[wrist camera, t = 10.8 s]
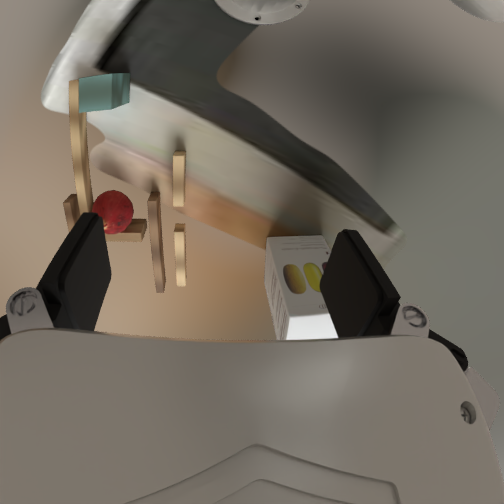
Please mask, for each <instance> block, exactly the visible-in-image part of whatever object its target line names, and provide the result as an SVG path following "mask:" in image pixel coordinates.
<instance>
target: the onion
mask: <svg viewBox="0 0 504 504" xmlns="http://www.w3.org/2000/svg"><path fill="white" fill-rule="evenodd" d="M92 212H94V213H98V215H99V216H101V217H102V218H103V224H104V231H105V234H117V233H120V232H122V231H124V230H125V229H126V227H127V226H128V225H129V224H130V223H131V221H132V217H133V213H134V210H133V205H132V202H131V201H130V200H129V198H128V197H127V196H126V195H124V194H123V193H122V192H119V191H115V190H112V191H107V192H104V193H102V194H101V195H99V196H98V197H97V199H96V201H95V202H94V204H93V208H92Z"/></svg>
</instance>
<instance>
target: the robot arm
mask: <svg viewBox="0 0 504 504" xmlns="http://www.w3.org/2000/svg"><path fill="white" fill-rule="evenodd" d="M214 1H215V2H216V4H217V5H218V6H219V7H220V8H221V9H222V10H223V11H224V12H225V13H227V14H228V15H229V16H231V17H233V18H235V19H237V20H239V21H242V22H246V23H249V24H256V25H272V24H278V23H281V22H285V21H287V20H289V19H291V18H293V17H295V16H296V15H298V14H299V13H301V12H302V11H303V10H304V9H305V7H306V6H307V5H308V3H309V2H310V0H214ZM450 1H451V2H452V3H454V4H455V5H457V6H458V7H459V8H461V9H462V10H464V11H466V12H467V13H469V14H471V15H473V16H475V17H478V18H480V19H484V20H488V21H493V22H504V0H450ZM296 6H298V7H299V8H296ZM255 18H258V19H259V20H258V21H257V20H255ZM110 280H111V267H110V262H109V256H108V251H107V245H106V238H105V231H104V224H103V218H102V217H101V216H99V215H98V213H94V212H83V213H82V215H81V216H80V218H79V219H78V220H77V222H76V223H75V225H74V226H73V228H72V229H71V231H70V232H69V234H68V235H67V237H66V238H65V240H64V242H63V243H62V245H61V246H60V248H59V250H58V251H57V253H56V254H55V256H54V258H53V259H52V261H51V263H50V264H49V266H48V268H47V269H46V271H45V273H44V275H43V277H42V278H41V280H40V282H39V284H38V286H37V287H36V289H35V288H31V287H27V288H22V289H19V290H18V291H16V292H15V293H14V294H13V295H12V296H10V298H9V300H8V301H7V304H6V313H7V314H6V315H4V316H2V317H1V318H0V504H504V482H503V478H502V473H501V469H500V465H499V461H498V458H497V454H496V451H495V447H494V444H493V441H492V437H491V435H490V432H489V431H490V428H491V426H492V424H493V422H494V419H495V417H496V414H497V412H498V409H499V407H500V398H499V396H498V394H497V392H496V391H495V390H494V389H493V388H492V387H491V386H490V385H489V384H488V383H487V382H486V381H485V380H484V378H482V376H481V375H479V373H478V372H476V371H475V370H474V368H473V367H470V368H468V361H467V357H466V355H465V353H464V351H463V350H462V349H461V348H459V347H458V346H456V345H454V344H453V343H451V342H449V341H448V340H446V339H445V338H443V337H441V336H440V335H438V334H436V333H435V332H433V331H431V330H430V329H429V327H430V320H429V318H428V316H427V314H426V313H425V311H423V310H422V309H421V308H420V307H418V306H417V305H415V304H412V303H403V304H402V305H400V304H399V302H398V301H399V299H400V298H401V297H400V295H399V294H398V292H397V290H396V289H395V287H394V286H393V284H392V282H391V281H390V279H389V278H388V276H387V274H386V273H385V271H384V270H383V268H382V267H381V265H380V263H379V262H378V260H377V259H376V257H375V256H374V254H373V253H372V251H371V250H370V248H369V247H368V245H367V244H366V243H365V241H364V240H363V238H362V237H361V235H360V234H359V232H358V231H356V230H348V229H344V230H342V232H339V233H338V235H337V237H336V240H335V243H334V245H333V248H332V251H331V254H330V256H329V259H328V262H327V264H326V267H325V270H324V272H323V275H322V277H321V280H320V284H319V287H320V291H321V294H322V296H323V299H324V301H325V304H326V306H327V309H328V312H329V314H330V317H331V320H332V322H333V325H334V328H335V330H336V333H337V336H338V338H327V339H302V340H209V339H184V338H167V337H151V336H139V335H128V334H117V333H107V332H97V331H94V329H95V325H96V322H97V319H98V316H99V312H100V309H101V306H102V303H103V300H104V297H105V294H106V291H107V288H108V286H109V283H110Z"/></svg>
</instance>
